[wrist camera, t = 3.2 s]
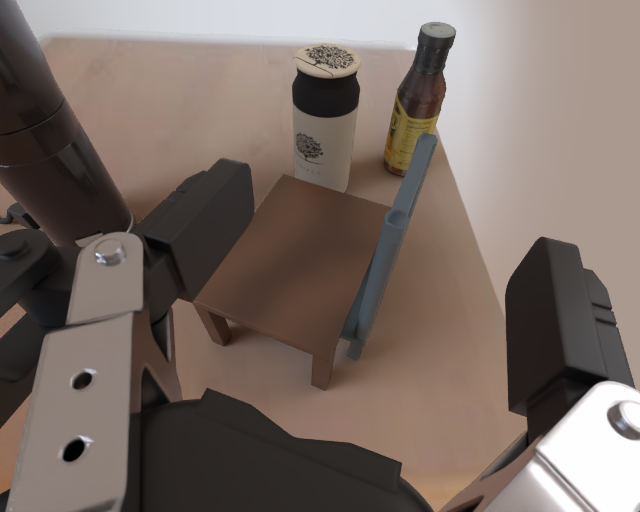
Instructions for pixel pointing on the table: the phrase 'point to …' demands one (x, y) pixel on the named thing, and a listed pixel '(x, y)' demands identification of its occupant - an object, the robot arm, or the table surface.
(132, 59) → the table surface
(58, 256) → the robot arm
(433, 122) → the sauce bottle
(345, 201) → the walnut table
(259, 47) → the table surface
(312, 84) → the travel mug
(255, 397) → the table surface
